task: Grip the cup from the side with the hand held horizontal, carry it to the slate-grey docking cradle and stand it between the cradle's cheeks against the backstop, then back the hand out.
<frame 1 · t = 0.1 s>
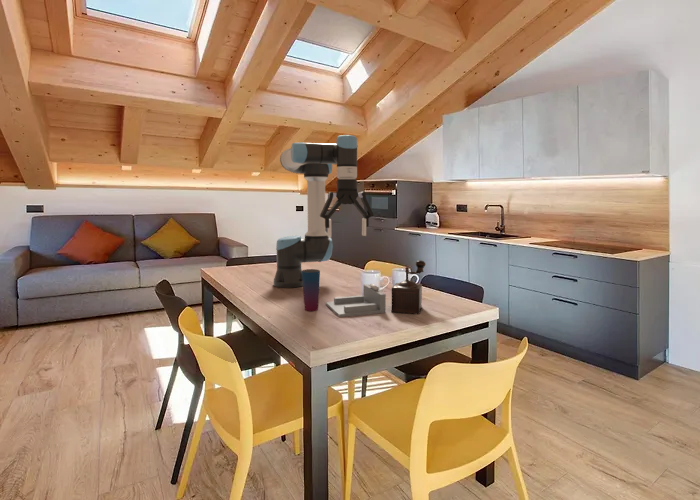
hand: (347, 236, 157), 28 cm above the table, tool pointing down, fingers open, 13 cm apart
dock: (354, 308, 161), on the table
cup: (311, 309, 160), on the table
manual coffee grinder: (408, 308, 161), on the table
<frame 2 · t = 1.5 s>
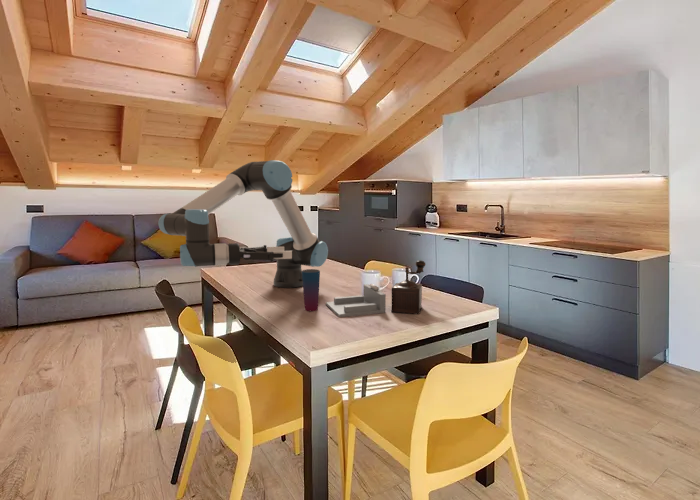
hand: (287, 252, 154), 22 cm above the table, tool horizontal, fingers open, 13 cm apart
nothing on the table moved.
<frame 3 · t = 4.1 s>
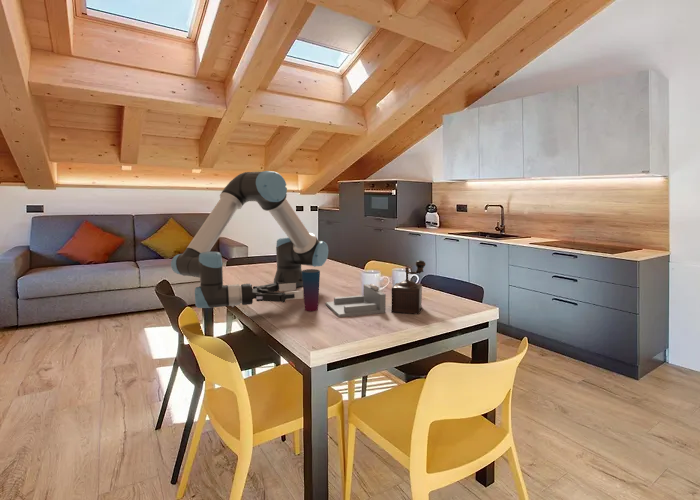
hand: (299, 290, 157), 8 cm above the table, tool horizontal, fingers open, 13 cm apart
nothing on the table moved.
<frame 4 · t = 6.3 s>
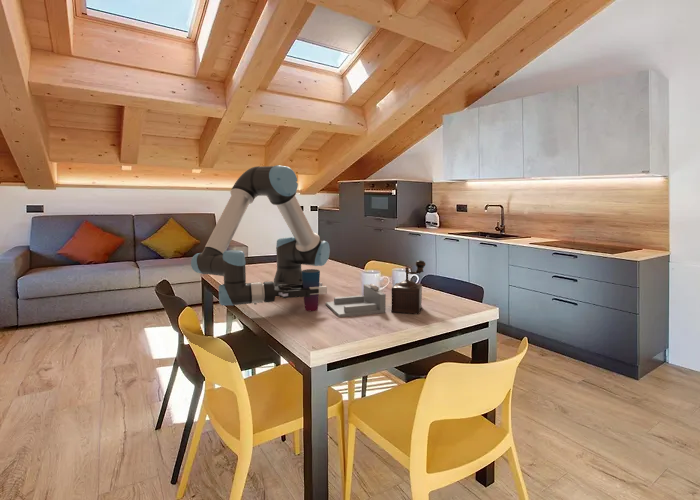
hand: (324, 287, 160), 8 cm above the table, tool horizontal, fingers closed on cup, 6 cm apart
cup: (311, 309, 160), on the table, touching gripper
everything else where it was.
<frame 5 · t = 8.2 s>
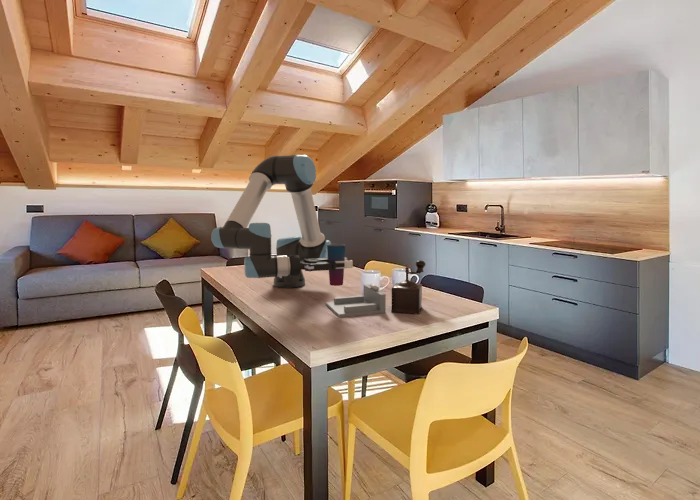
hand: (349, 262, 158), 18 cm above the table, tool horizontal, fingers closed on cup, 6 cm apart
cup: (336, 284, 158), point 10 cm above the table, touching gripper
everything else where it was.
when the fingers open (10 cm above the table, at t = 10.4 s): cup drops 1 cm, resting on dock.
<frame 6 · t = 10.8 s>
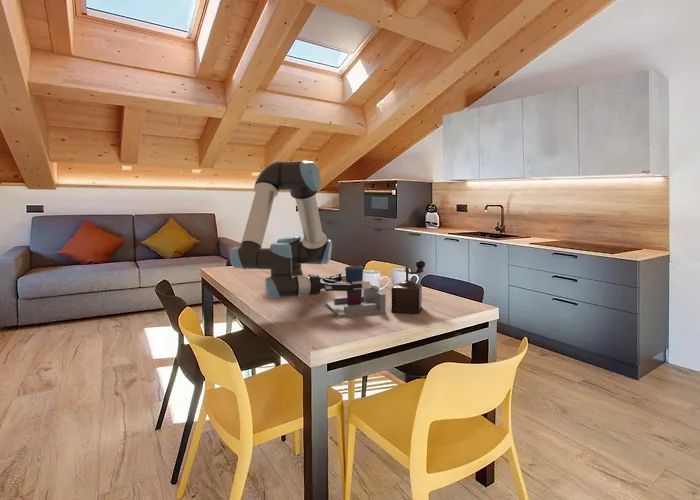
hand: (363, 281, 160), 10 cm above the table, tool horizontal, fingers open, 12 cm apart
cup: (354, 306, 161), point 1 cm above the table, touching dock
everything else where it was.
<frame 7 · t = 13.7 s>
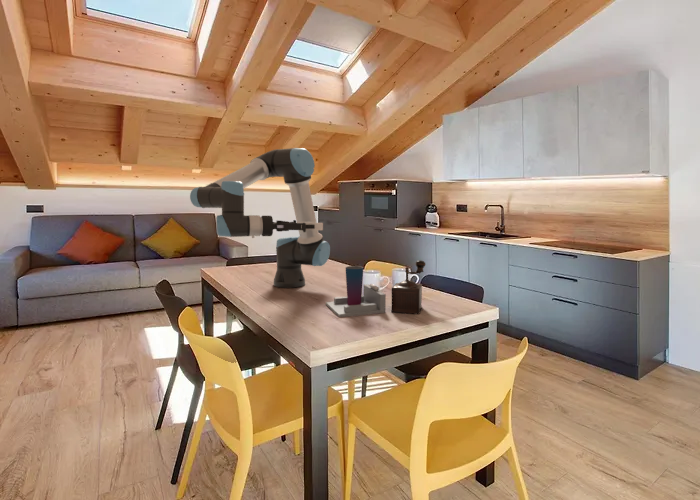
hand: (317, 225, 159), 32 cm above the table, tool horizontal, fingers open, 13 cm apart
nothing on the table moved.
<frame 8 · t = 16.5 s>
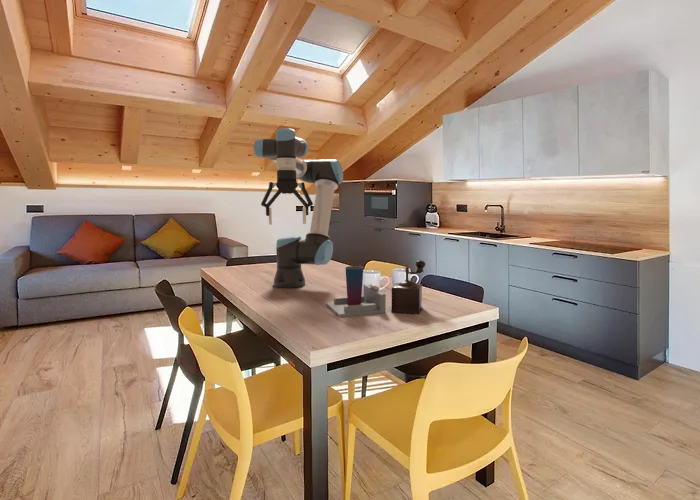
hand: (287, 224, 167), 32 cm above the table, tool pointing down, fingers open, 13 cm apart
nothing on the table moved.
at the end: cup inside the target area on the dock (0.8 cm from its centre), point 0.8 cm above the dock's base; cup tilted 0°; the gripper is holding nothing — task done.
